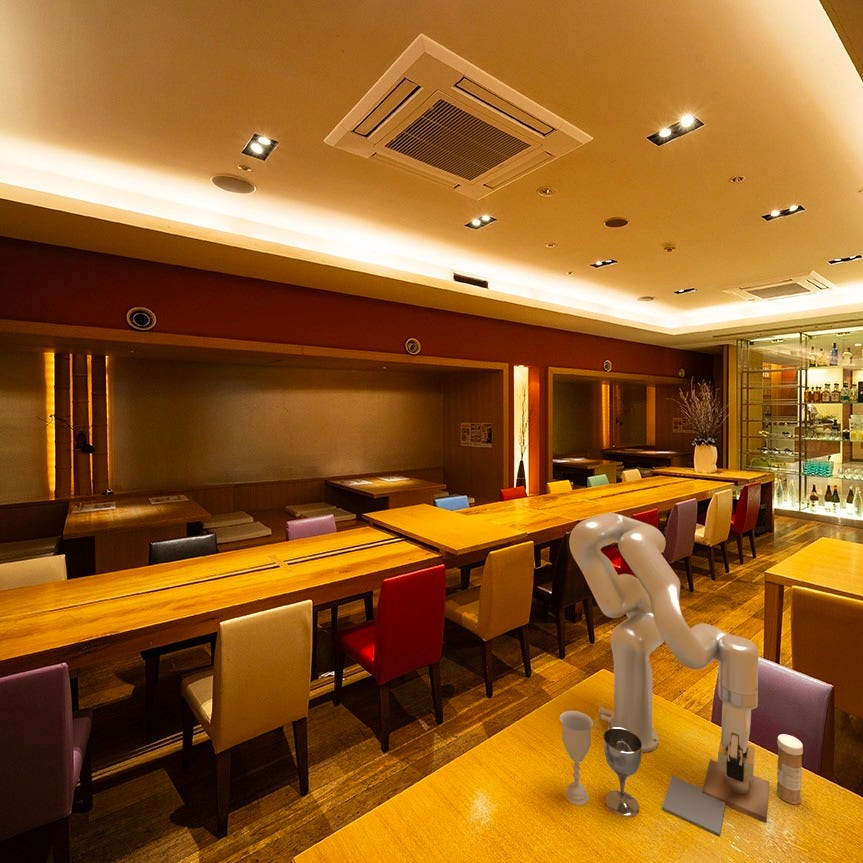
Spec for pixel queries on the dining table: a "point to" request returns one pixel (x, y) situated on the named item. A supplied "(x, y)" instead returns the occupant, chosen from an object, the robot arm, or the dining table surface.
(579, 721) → the chalice
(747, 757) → the c link
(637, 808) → the wine glass
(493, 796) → the dining table surface
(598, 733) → the dining table surface
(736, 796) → the stand
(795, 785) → the sprinkles bottle
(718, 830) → the mat
